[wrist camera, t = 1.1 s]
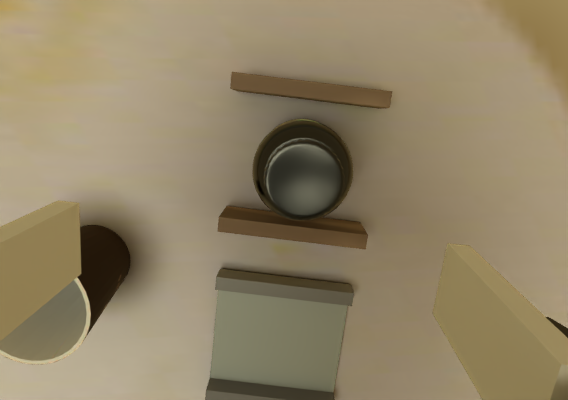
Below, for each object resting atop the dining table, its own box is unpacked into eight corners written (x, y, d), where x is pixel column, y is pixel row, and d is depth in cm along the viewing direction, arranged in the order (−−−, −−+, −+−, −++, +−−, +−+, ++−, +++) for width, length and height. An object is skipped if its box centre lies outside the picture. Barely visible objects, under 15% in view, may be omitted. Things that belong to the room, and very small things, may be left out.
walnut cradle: (357, 234, 37) (365, 249, 33) (225, 218, 37) (217, 231, 33) (381, 93, 35) (392, 91, 31) (238, 76, 35) (231, 71, 31)
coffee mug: (124, 202, 37) (64, 235, 27) (154, 289, 39) (108, 349, 29) (5, 233, 38) (-95, 276, 28) (39, 317, 40) (-43, 384, 30)
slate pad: (331, 399, 41) (333, 416, 39) (210, 384, 41) (205, 401, 39) (350, 282, 38) (353, 293, 36) (221, 266, 38) (216, 276, 36)
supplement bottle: (299, 101, 35) (303, 96, 23) (356, 157, 36) (387, 179, 24) (244, 159, 36) (222, 182, 24) (301, 212, 37) (304, 259, 25)
